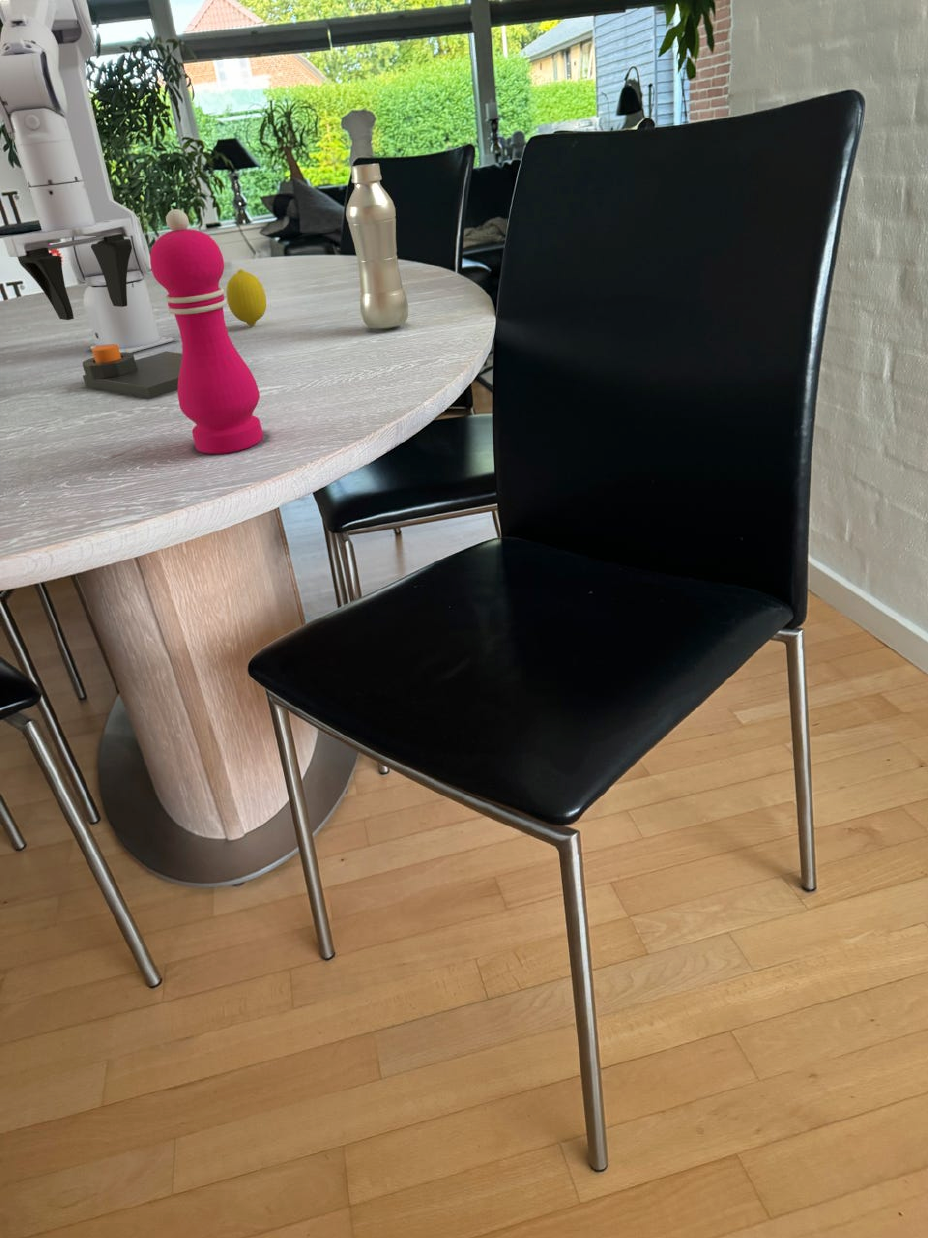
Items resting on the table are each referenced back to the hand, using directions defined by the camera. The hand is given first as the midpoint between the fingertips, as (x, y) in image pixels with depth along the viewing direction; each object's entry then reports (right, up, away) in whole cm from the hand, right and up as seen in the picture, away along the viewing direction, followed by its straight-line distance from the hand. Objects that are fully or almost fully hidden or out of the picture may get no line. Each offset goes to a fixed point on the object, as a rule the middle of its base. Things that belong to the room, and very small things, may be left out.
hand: (94, 312), depth 102 cm
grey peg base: (+6, -7, +4) cm, 10 cm away
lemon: (+12, +7, +28) cm, 31 cm away
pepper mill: (+22, -20, -20) cm, 36 cm away
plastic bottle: (+33, +4, +18) cm, 38 cm away
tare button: (+1, -5, +3) cm, 6 cm away
